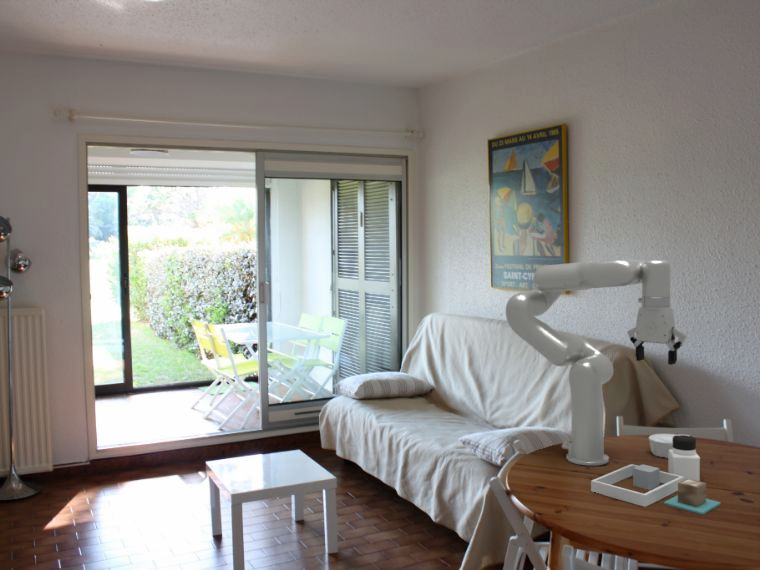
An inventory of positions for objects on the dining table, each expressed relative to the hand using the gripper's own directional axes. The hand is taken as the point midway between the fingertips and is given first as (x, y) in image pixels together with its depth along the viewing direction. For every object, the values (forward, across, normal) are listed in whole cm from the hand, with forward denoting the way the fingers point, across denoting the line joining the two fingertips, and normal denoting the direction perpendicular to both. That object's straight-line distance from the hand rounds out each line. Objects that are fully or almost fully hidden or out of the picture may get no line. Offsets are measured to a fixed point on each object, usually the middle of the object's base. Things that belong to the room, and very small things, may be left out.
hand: (655, 362), depth 206 cm
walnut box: (+32, +19, -17) cm, 41 cm away
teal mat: (+32, +19, -17) cm, 41 cm away
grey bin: (+32, +4, -17) cm, 37 cm away
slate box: (+32, +4, -12) cm, 35 cm away
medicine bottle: (+32, +8, +1) cm, 33 cm away
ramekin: (+33, -6, +19) cm, 38 cm away
